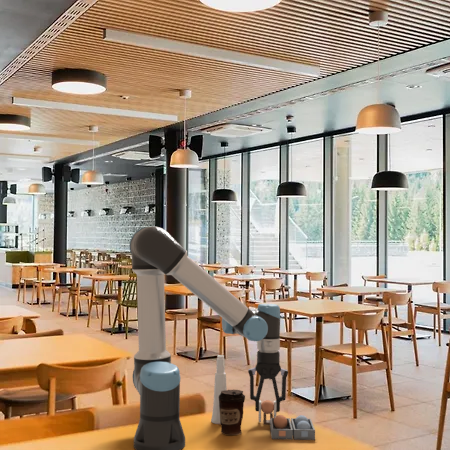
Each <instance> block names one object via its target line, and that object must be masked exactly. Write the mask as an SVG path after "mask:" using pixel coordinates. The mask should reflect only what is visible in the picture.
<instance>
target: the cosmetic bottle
mask: <svg viewBox="0 0 450 450" xmlns="http://www.w3.org/2000/svg"><path fill="white" fill-rule="evenodd" d="M215 364H216V367H215V368H216V372H215V374H214V387H213V389H214V390H213V403H212V404H213V405H212V414H211V420H210V421H211V423H213V424H216V425H221V423H220V410H219V395H220V394H221V391H225V390H228V388H227V373H226V372H225V370H226V368H225V367H226V365H225V364H226V359H225V355H224V354H220V355H219V354H218V355H217V358H216V363H215Z"/></svg>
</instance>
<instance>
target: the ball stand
mask: <svg viewBox="0 0 450 450" xmlns="http://www.w3.org/2000/svg"><path fill="white" fill-rule="evenodd" d="M270 418H274V412H272V413H270V414H269V419H267V414H265V413H264V412H263V419H262V420H263V421H262V422H263V426H264V425H265V426H267V425H269V426H270Z"/></svg>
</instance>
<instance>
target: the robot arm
mask: <svg viewBox="0 0 450 450" xmlns="http://www.w3.org/2000/svg"><path fill="white" fill-rule="evenodd" d="M129 252H130V254H131V271H132V272H134V274H136V284H137V286H136V288H137V289H136V290H137V291H136V292H137V331H138V332H137V333H138V335H137V336H138V339H137V340H138V351H137V352H136V353H135V354H134V356H133V366H134V367H133V372H132V383H133V386H134V388H135V389H136V391H137V392H138V395H139V422H138V424H137V427H136V430H135V433H134V437H133V448H134V450H182V449H184V448H185V446H186V435H185V432H184V429H183V426H182V422H181V419H180V411H181V410H180V405H181V404H180V403H181V399H180V394H181V393H180V392H181V391H180V390H181V373H180V368H179V367H178V365H176V364H174V363H172V358H171V357H172V354H171V353H170V352H169V350H167V345H166V344H167V343H166V341H167V340H166V307H165V306H166V304H165V303H166V301H165V300H166V299H165V298H166V297H165V275H166V276H172V277H173V278H174V279H175V280H177V281H178V282H179V283H180V284H181V285H182V286H184V287H185V288H186V289H187V290H188V291H190V292H191V293H192V294H193V295H195V296H196V297H197V298H198V299H199V300H201V301H202V302H203V303H204V304H205V305H206V306H207V307H209V308H210V309H211V310H212V311H214V312H215V313H216V314H217V315H218V316H219V317H221V328H222V330H223V333H225V334H227V335H229V334H230V335H239V336H242V337H244V338H245V339H247V340H248V341H251V342H257V344H256V346H257V347H256V350H257V352H256V365H255V367H252V368H248V370H247V372H248V375H249V399H250V400H251V401H254V402H255V405H254V408H255V409H254V410H255V412H258V423H262V410H261V404H262V400H261V399H260V398H261V395H262V390H263V386H264V382H265V380H268V379H269V380H271V381H272V385H273V392H274V396H275V400H273V404H274V410H273V418H275V417H276V416H277V413H280V411H281V402H283V401H285V400H286V398H287V397H286V395H287V394H286V393H287V377H288V375H289V370H288V369H286V368H285V369H284V368H282V367H281V364H280V359H281V356H280V352H279V351H280V350H281V349H280V348H281V343H280V342H281V336H280V335H281V334H280V333H281V319H282V318H281V309H280V306H279V304H276V303H259V304H258V306H257V309H256V310H255V309H254V310H251V309H250V308H249V307H248V306H247V305H245V303H243V302H242V301H241V300H240V299H239V298H238V297H236V296H235V295H234V294H232V293H231V292H230V291H229V290H228V289H227V288H226V287H224V285H222V284H221V283H220V282H219V281H218V280H217V279H215V278H214V276H211V274H210V273H208V272H207V271H206V270H205V269H204V268H202V267H201V266H200V265H199V264H198V263H197V262H196V261H194V260H193V258H192V257H190V256H189V255H188V251H187V249H186V248H184V247H183V246H182V244H180V243H179V242H178V241H177V240H176V239H175V238H174V237H173V235H171V234H170V233H169V232H168V230H166V229H164V228H163V227H159V226H145V227H142V228H140V229H138V230H137V231H136V232H134V233H133V234H132V237H131V239H130V242H129ZM256 372H257V374H258V375H259V376H260V377H259V382H258V386H257V390H256V395H255V383H254V382H255V380H254V379H255V378H254V377H255V375H256ZM279 373H280V375H281V396H280V393H279V389H278V388H279V387H278V385H277V379H276V377H277V376H278V375H279Z"/></svg>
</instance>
